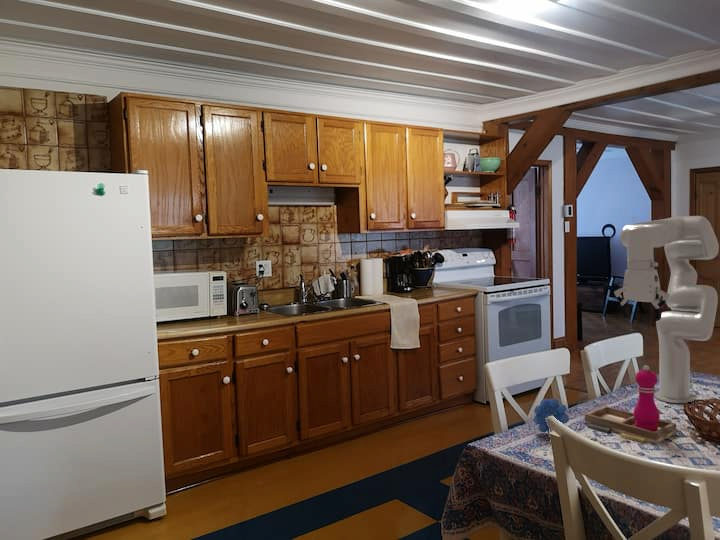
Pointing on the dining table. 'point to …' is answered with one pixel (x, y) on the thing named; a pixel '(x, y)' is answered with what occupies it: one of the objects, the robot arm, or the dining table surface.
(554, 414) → the grapes
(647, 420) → the pepper mill
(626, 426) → the board
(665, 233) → the robot arm
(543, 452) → the dining table surface
